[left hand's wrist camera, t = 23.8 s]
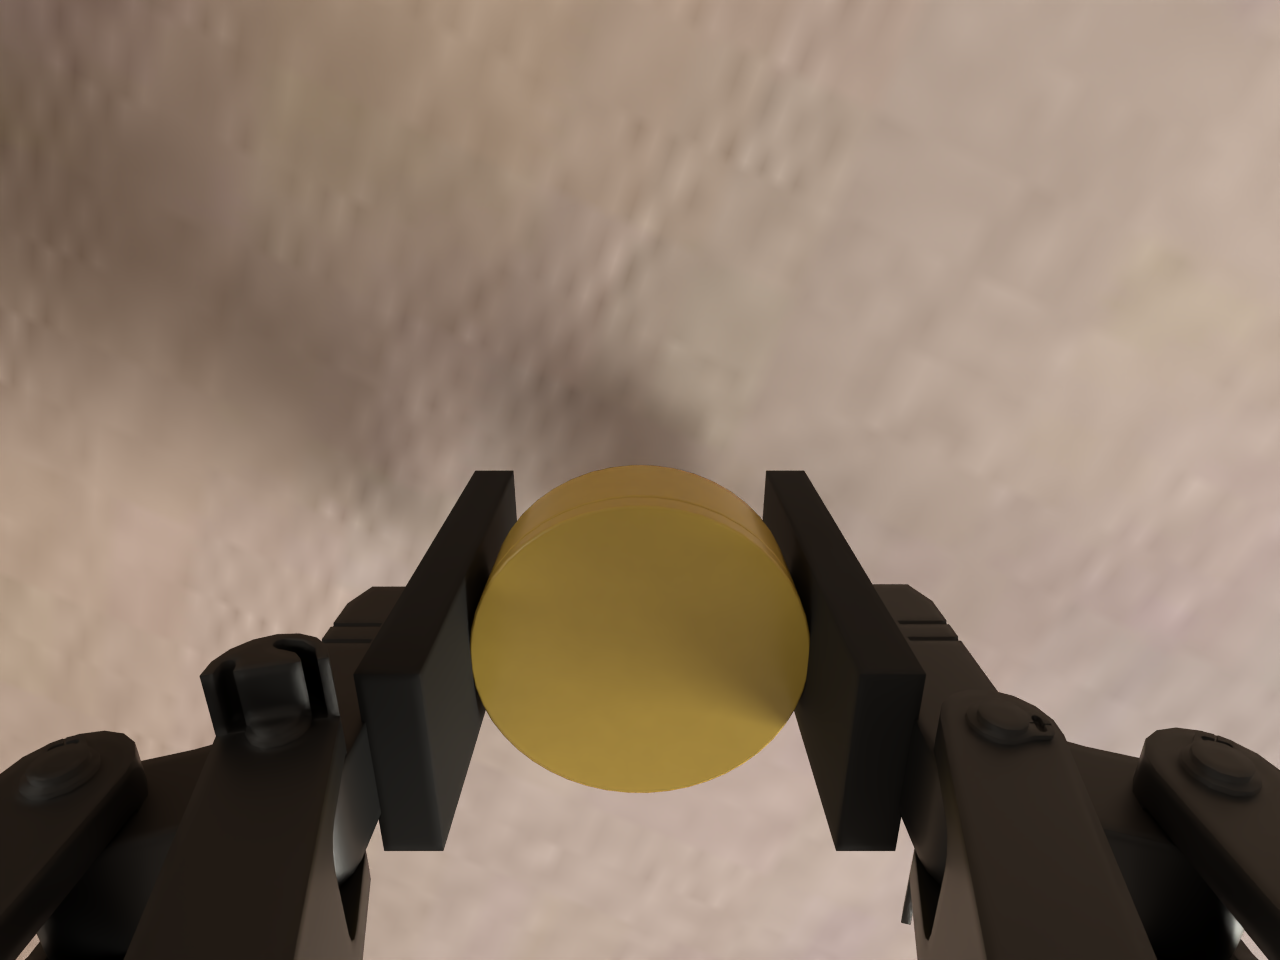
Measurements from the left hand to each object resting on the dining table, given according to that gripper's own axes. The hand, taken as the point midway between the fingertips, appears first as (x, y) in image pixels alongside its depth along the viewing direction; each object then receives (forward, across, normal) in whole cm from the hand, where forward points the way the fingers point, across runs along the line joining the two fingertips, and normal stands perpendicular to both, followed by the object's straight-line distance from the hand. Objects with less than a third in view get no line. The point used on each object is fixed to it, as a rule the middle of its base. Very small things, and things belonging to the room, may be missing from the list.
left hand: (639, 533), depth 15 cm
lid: (-4, 0, 0) cm, 4 cm away
